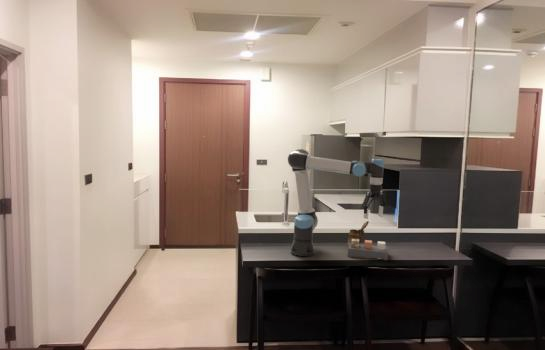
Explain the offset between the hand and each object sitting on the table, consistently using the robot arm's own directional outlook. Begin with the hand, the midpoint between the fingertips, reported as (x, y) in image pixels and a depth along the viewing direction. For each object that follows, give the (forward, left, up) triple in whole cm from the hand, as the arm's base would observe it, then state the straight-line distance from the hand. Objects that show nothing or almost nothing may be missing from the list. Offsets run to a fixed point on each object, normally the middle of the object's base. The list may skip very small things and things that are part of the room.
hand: (373, 217), depth 252 cm
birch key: (-10, -3, -20) cm, 22 cm away
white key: (+6, -3, -20) cm, 21 cm away
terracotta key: (-2, -3, -20) cm, 20 cm away
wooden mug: (-9, +12, -24) cm, 29 cm away
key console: (-2, -3, -24) cm, 24 cm away
